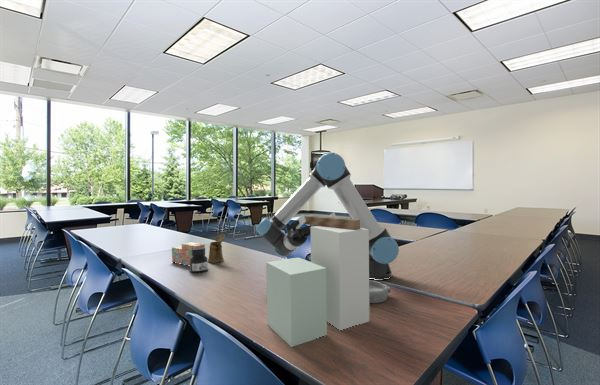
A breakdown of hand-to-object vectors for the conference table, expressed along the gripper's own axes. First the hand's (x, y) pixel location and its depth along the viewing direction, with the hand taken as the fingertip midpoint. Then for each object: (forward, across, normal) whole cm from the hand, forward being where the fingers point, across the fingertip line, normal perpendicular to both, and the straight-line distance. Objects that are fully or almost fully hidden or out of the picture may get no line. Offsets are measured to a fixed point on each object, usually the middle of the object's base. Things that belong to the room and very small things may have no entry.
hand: (320, 216), depth 109 cm
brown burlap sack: (-91, +15, +14) cm, 93 cm away
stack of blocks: (-95, +30, +16) cm, 101 cm away
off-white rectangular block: (-7, 0, -34) cm, 35 cm away
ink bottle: (-79, +28, +8) cm, 85 cm away
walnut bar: (+3, 0, -5) cm, 6 cm away
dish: (-14, -22, -31) cm, 40 cm away
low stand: (-7, +17, -34) cm, 38 cm away
